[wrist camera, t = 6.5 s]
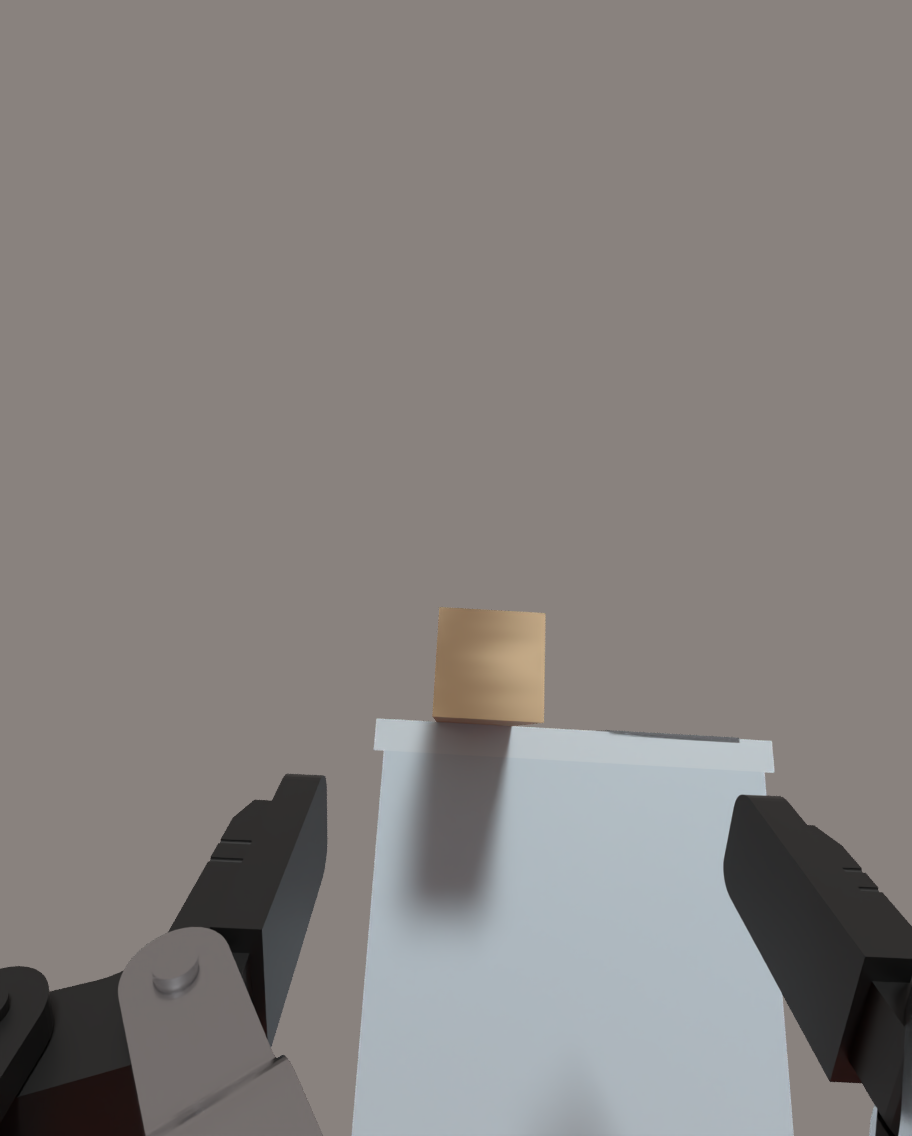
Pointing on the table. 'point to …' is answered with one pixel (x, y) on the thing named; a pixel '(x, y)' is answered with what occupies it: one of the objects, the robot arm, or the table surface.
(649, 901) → the light grey cabinet
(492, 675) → the oak batten
